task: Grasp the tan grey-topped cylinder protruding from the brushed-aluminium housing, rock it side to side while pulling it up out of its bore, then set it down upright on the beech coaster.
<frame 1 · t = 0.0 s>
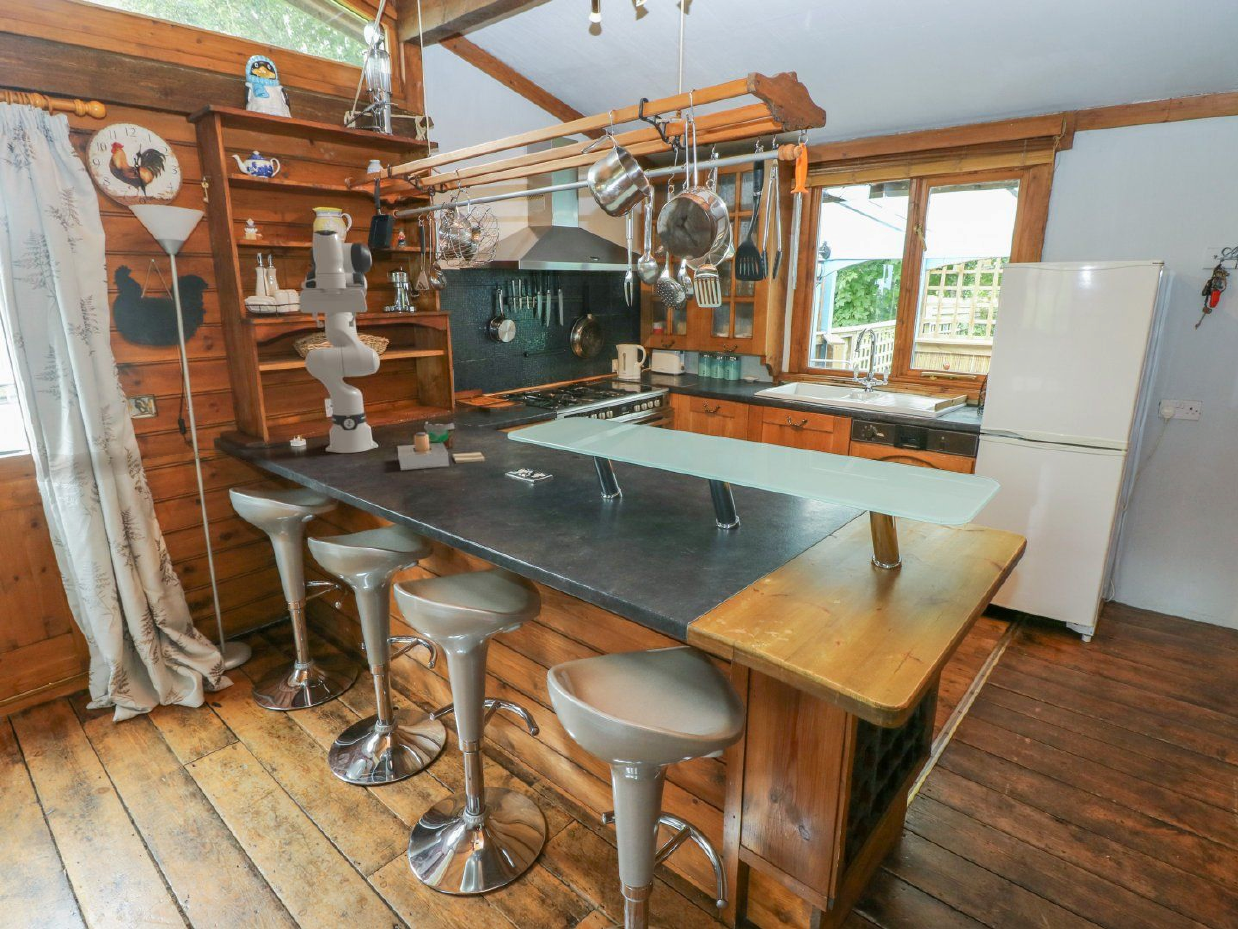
hand: (336, 327, 218), 48 cm above the worktop, fingers open, 8 cm apart
tan grey-topped cylinder: (422, 448, 237), in the housing
housing: (423, 462, 238), on the worktop
coaster: (468, 458, 243), on the worktop
food container: (437, 449, 258), on the worktop
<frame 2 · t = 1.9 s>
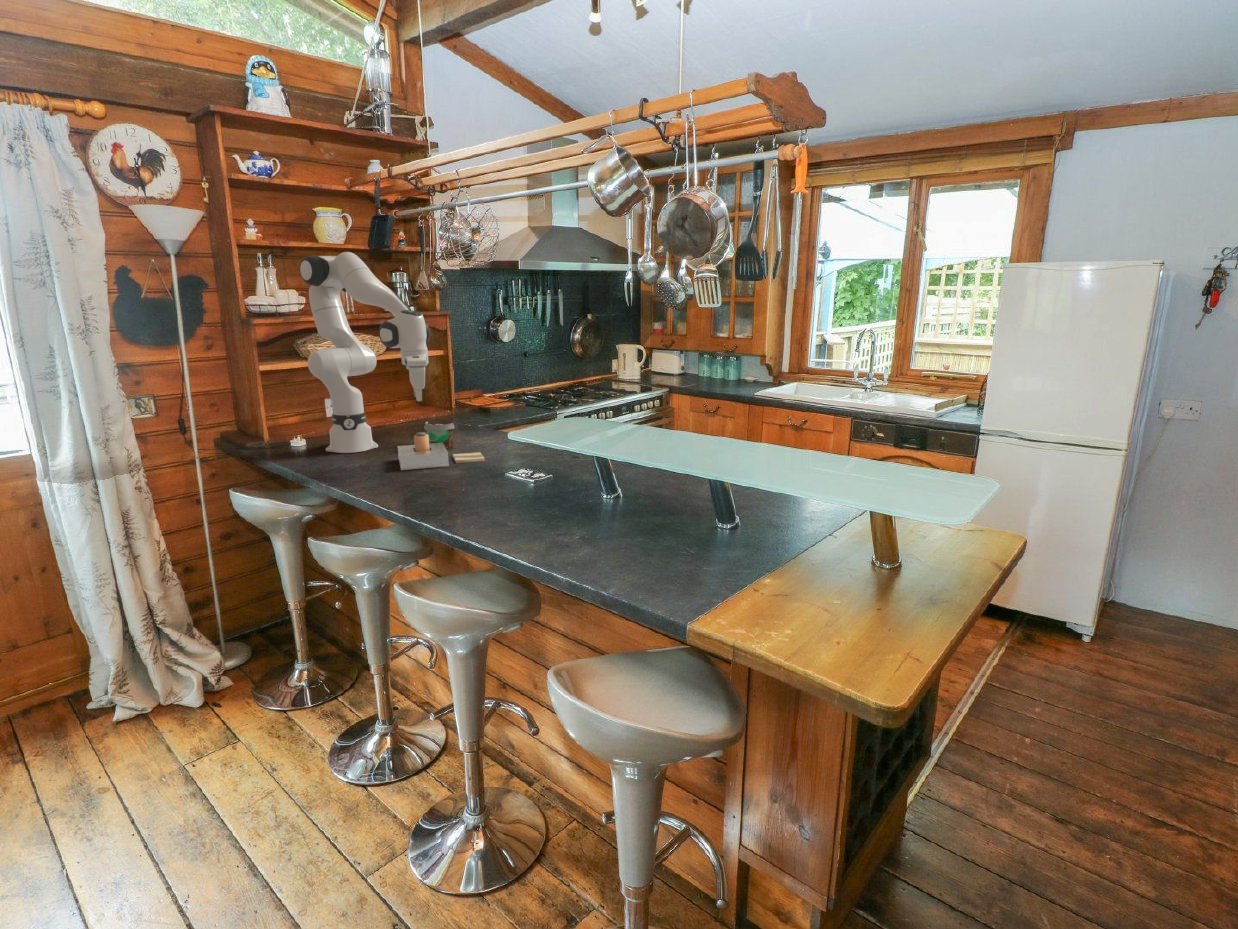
hand: (418, 398, 232), 23 cm above the worktop, fingers open, 8 cm apart
nothing on the worktop moved.
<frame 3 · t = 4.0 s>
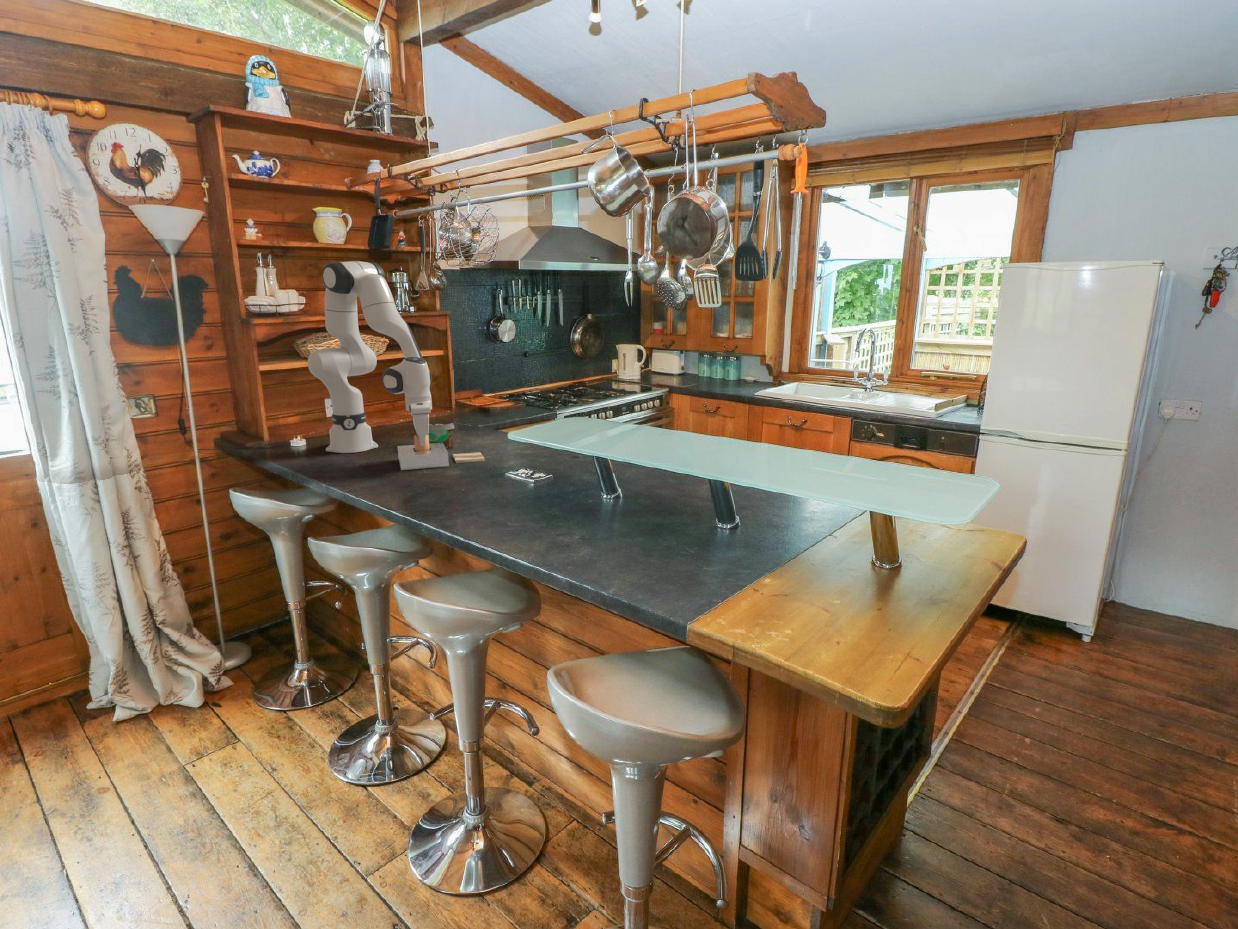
hand: (421, 443, 236), 7 cm above the worktop, fingers closed on tan grey-topped cylinder, 5 cm apart
tan grey-topped cylinder: (422, 448, 237), in the housing, touching gripper
everything else where it was.
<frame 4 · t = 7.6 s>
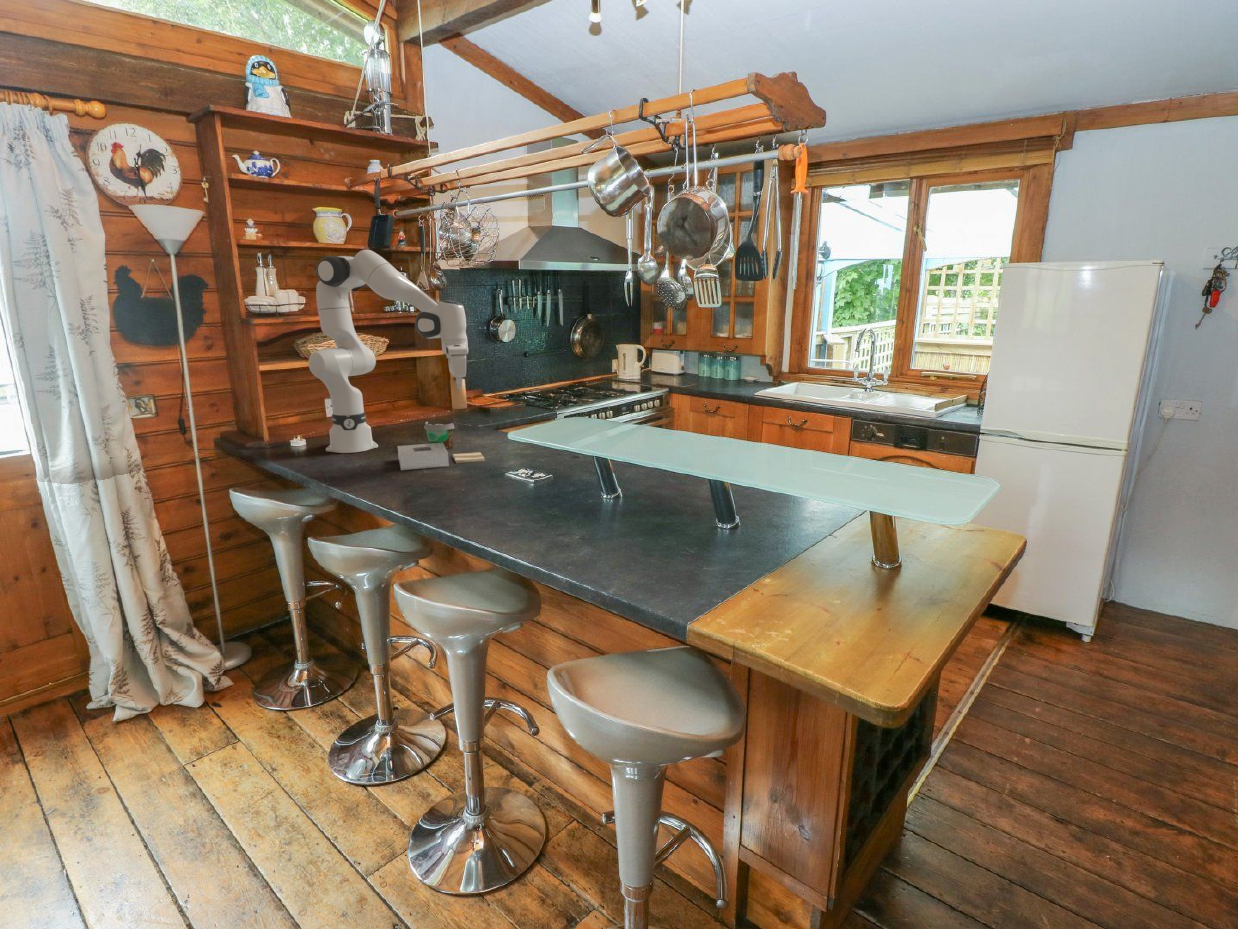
hand: (458, 387, 236), 26 cm above the worktop, fingers closed on tan grey-topped cylinder, 5 cm apart
tan grey-topped cylinder: (458, 392, 236), point 24 cm above the worktop, touching gripper
everything else where it was.
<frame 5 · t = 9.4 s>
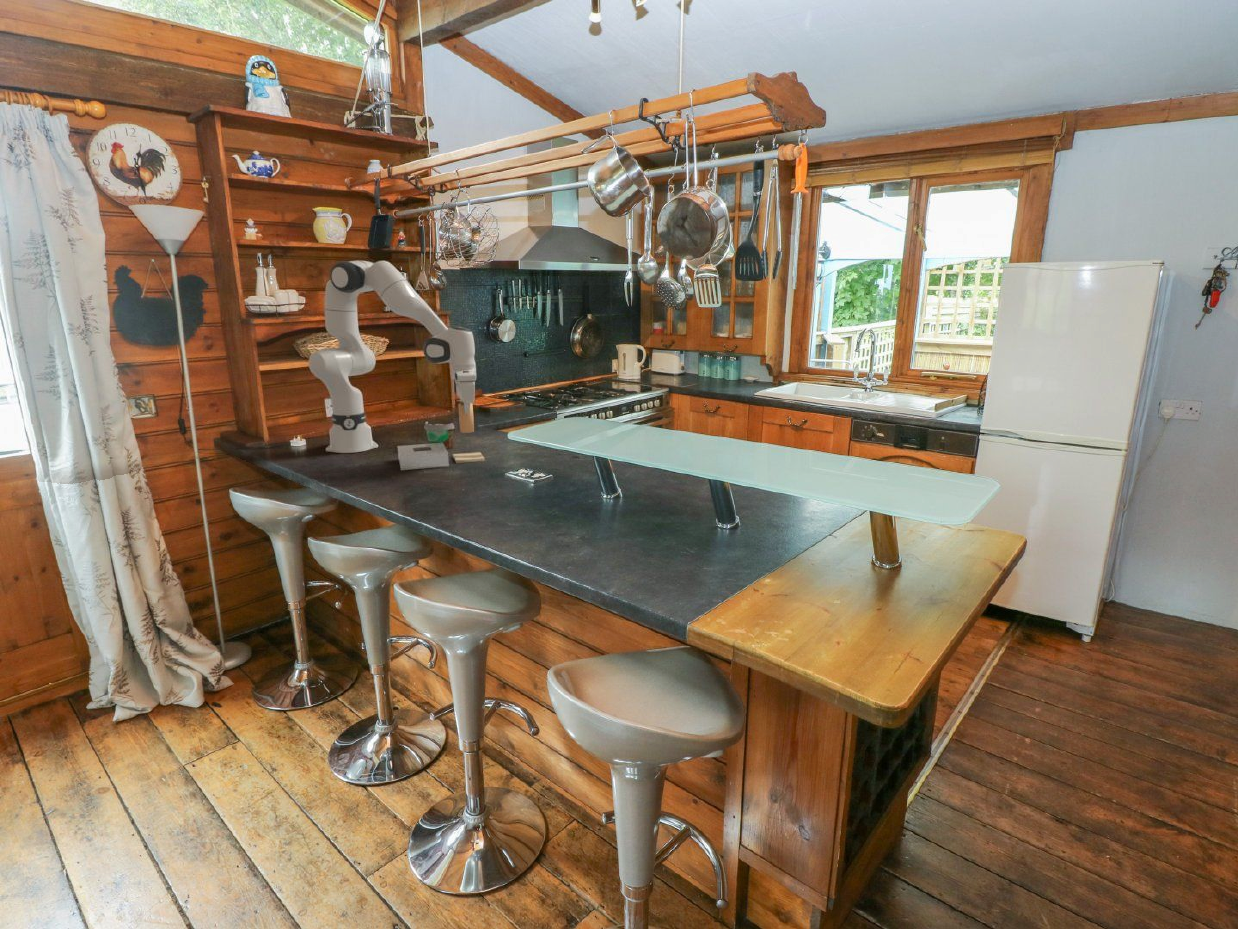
hand: (465, 411, 239), 17 cm above the worktop, fingers closed on tan grey-topped cylinder, 5 cm apart
tan grey-topped cylinder: (466, 416, 239), point 16 cm above the worktop, touching gripper
everything else where it was.
when the fingers open (9 cm above the worktop, at t = 11.3 s): tan grey-topped cylinder stays where it is, resting on coaster.
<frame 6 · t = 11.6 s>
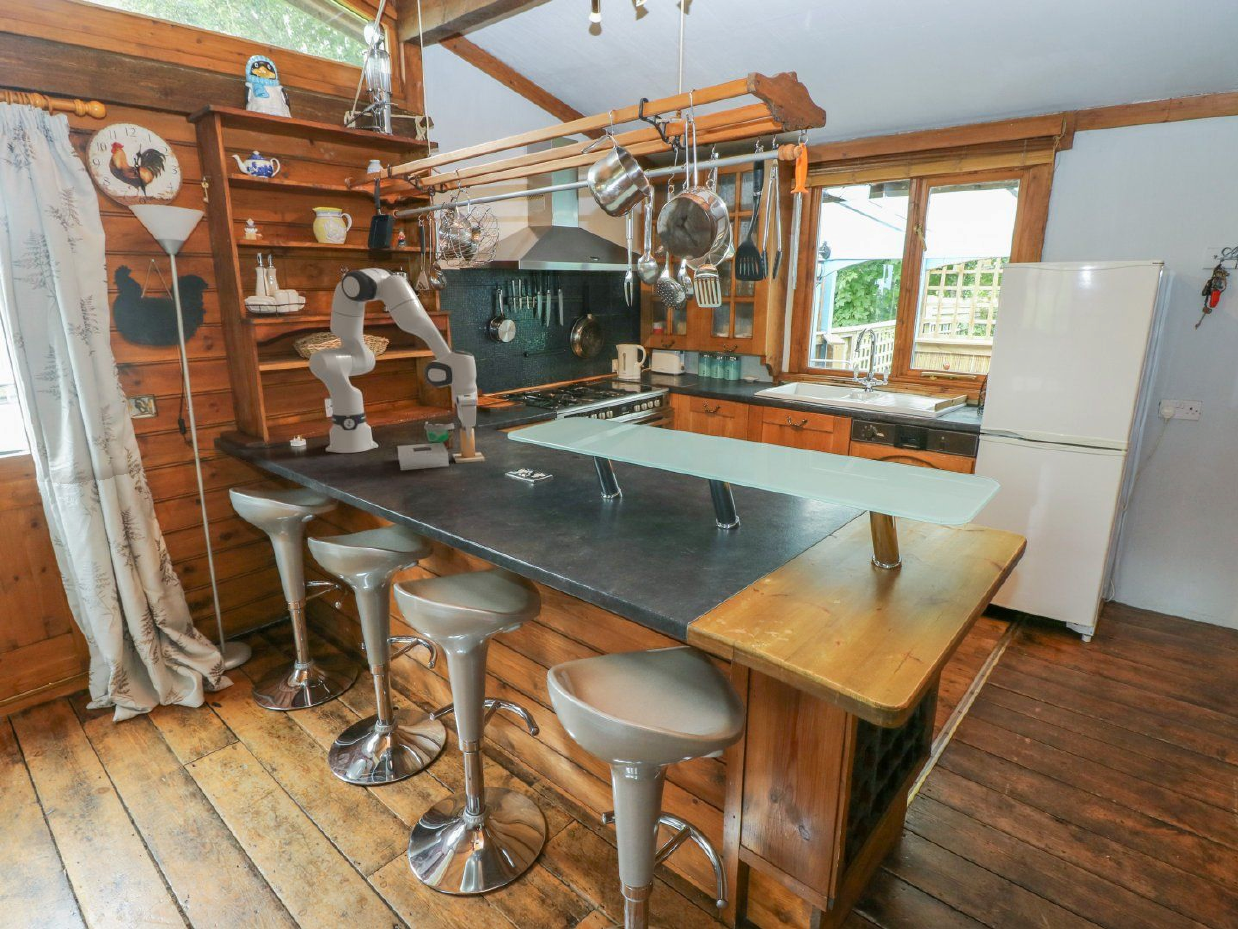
hand: (467, 434, 241), 9 cm above the worktop, fingers open, 8 cm apart
tan grey-topped cylinder: (467, 441, 242), on the coaster, point 6 cm above the worktop
everything else where it was.
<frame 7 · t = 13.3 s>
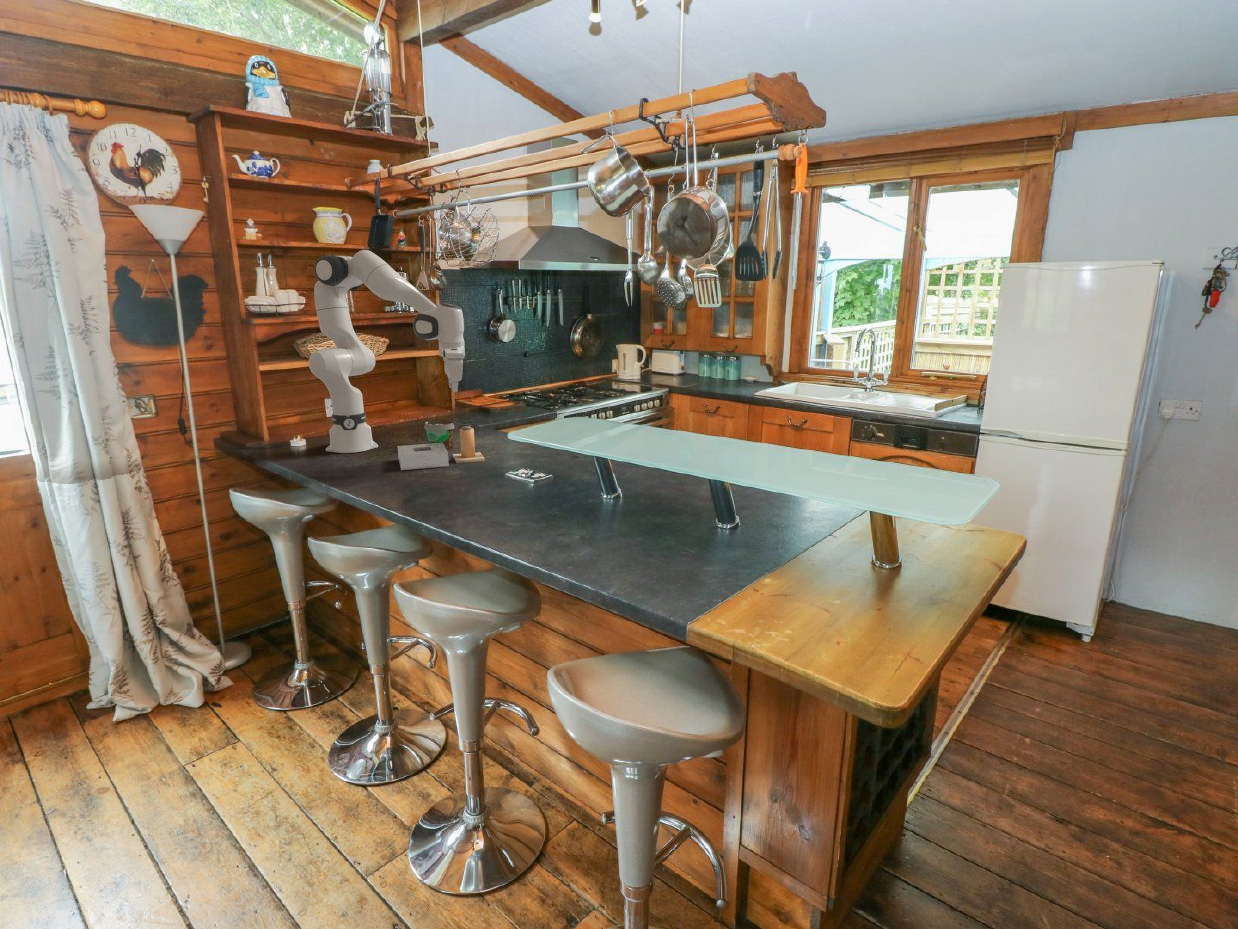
hand: (453, 389, 239), 25 cm above the worktop, fingers open, 8 cm apart
nothing on the worktop moved.
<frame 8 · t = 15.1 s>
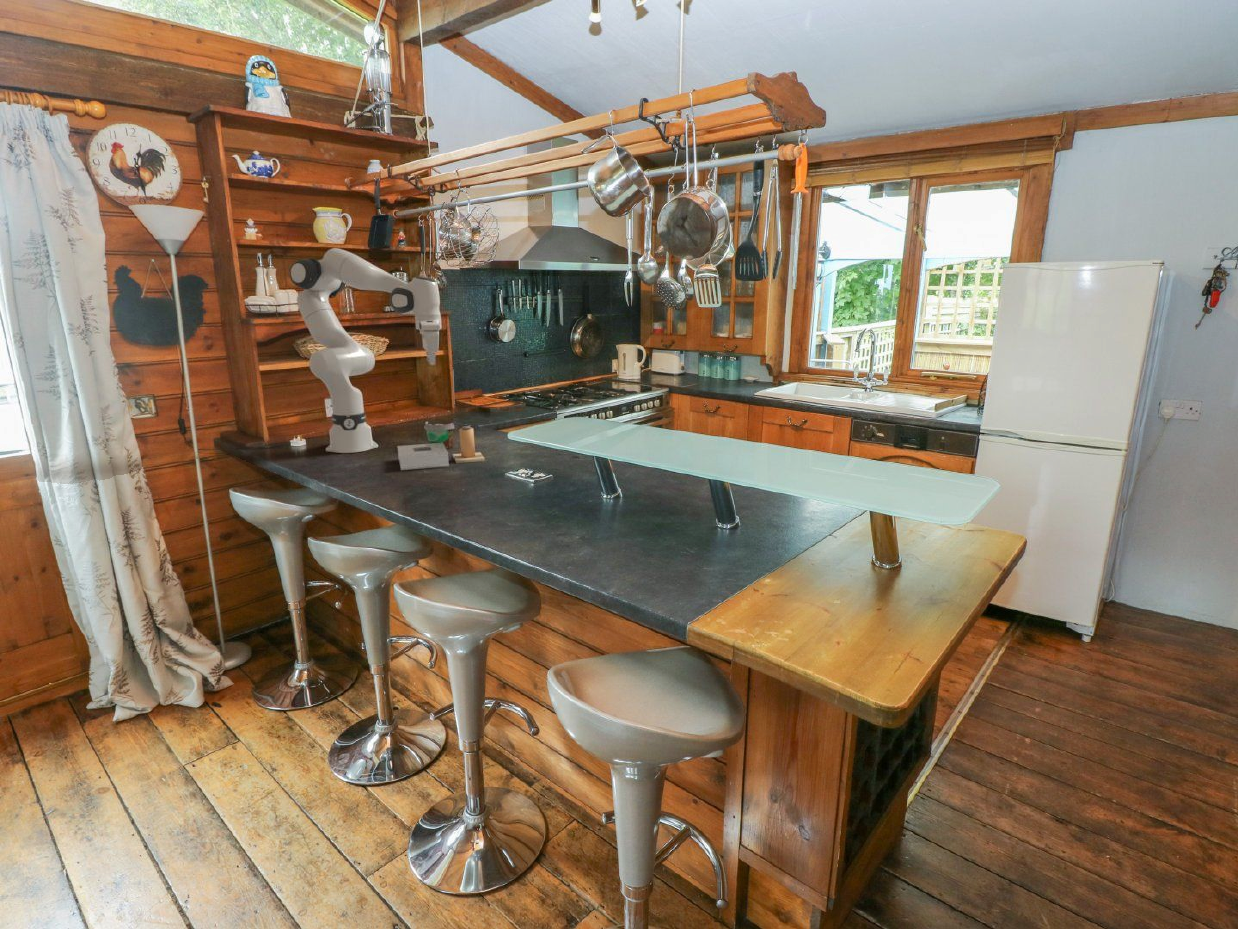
hand: (431, 363, 239), 34 cm above the worktop, fingers open, 8 cm apart
nothing on the worktop moved.
at the end: tan grey-topped cylinder inside the target area on the coaster (0.1 cm from its centre), point 6.4 cm above the coaster's base; tan grey-topped cylinder tilted 1°; the gripper is holding nothing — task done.
